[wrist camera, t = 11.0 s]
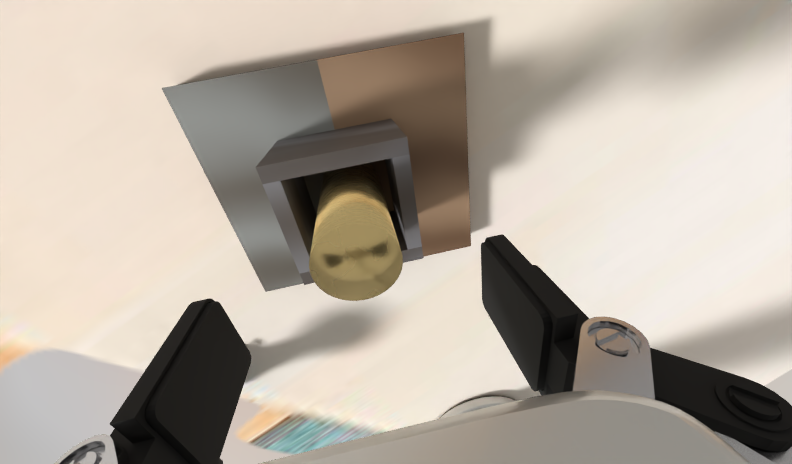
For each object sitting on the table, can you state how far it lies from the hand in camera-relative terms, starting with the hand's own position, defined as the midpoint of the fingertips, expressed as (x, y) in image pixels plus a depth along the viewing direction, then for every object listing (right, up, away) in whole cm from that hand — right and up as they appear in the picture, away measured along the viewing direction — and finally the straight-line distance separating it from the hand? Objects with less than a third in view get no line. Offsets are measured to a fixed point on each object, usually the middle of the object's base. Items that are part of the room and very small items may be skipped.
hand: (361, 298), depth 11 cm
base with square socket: (-2, +6, +10) cm, 12 cm away
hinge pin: (-2, +5, +9) cm, 10 cm away
